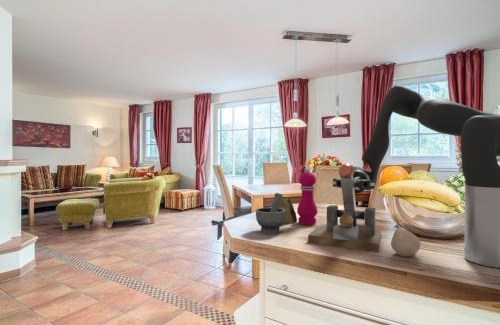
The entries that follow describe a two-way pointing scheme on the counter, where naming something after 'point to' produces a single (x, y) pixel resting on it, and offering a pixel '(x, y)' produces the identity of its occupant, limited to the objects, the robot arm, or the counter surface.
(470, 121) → the robot arm
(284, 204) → the rock
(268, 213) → the mortar and pestle
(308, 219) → the pepper mill
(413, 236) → the garlic bulb
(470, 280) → the counter surface
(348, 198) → the lever
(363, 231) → the cracker base
